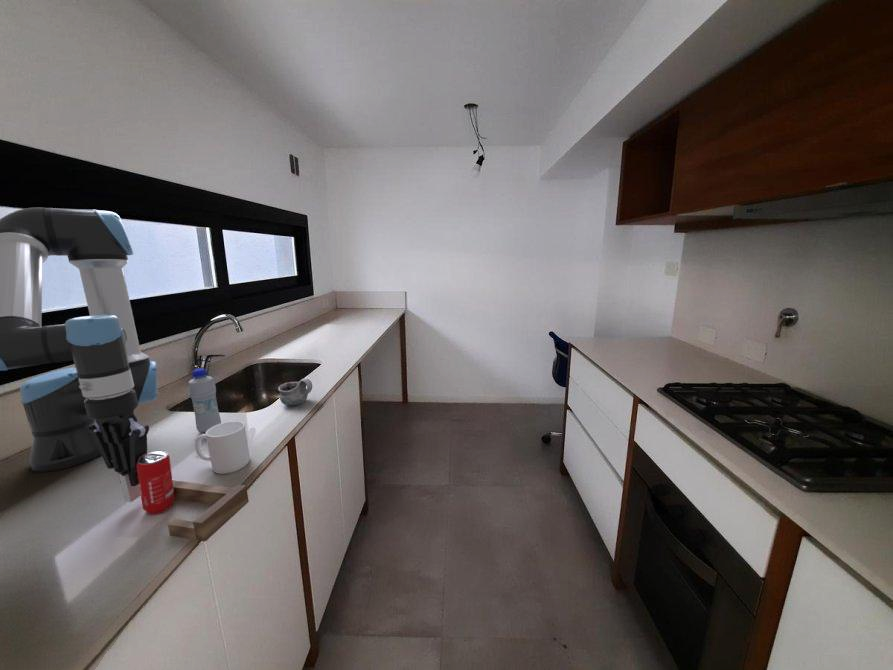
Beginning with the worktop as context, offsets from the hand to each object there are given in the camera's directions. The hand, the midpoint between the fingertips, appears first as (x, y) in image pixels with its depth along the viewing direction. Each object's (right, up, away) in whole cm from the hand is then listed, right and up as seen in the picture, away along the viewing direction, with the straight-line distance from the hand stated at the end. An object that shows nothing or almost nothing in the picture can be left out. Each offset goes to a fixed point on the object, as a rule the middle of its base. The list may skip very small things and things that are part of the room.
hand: (135, 497), depth 75 cm
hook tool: (+13, -2, -2) cm, 13 cm away
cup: (+10, +1, +15) cm, 18 cm away
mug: (+13, +10, +52) cm, 54 cm away
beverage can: (+6, -2, 0) cm, 6 cm away
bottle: (-6, +5, +33) cm, 34 cm away
